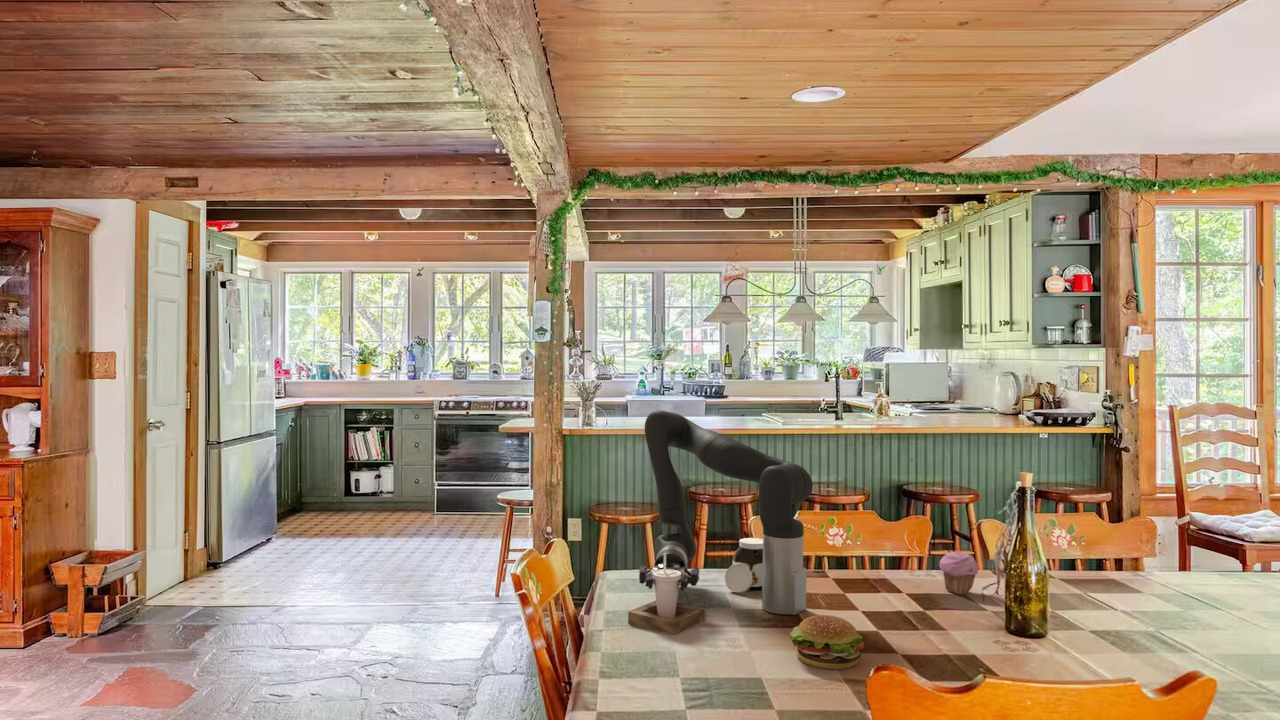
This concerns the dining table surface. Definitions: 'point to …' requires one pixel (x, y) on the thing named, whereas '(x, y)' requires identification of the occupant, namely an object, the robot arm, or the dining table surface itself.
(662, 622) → the walnut socket block
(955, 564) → the cupcake
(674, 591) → the smoothie
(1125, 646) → the dining table surface
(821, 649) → the food
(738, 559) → the spread jar
